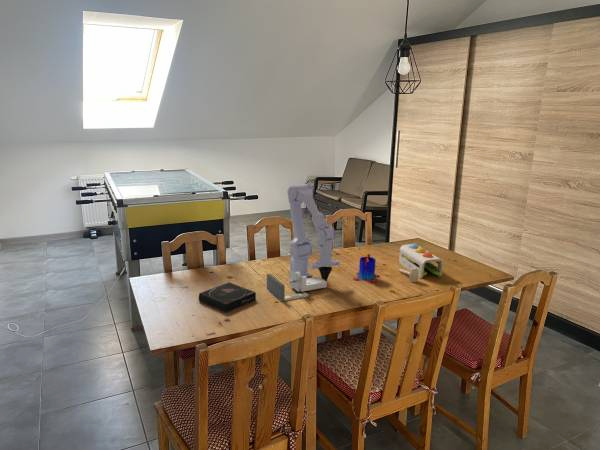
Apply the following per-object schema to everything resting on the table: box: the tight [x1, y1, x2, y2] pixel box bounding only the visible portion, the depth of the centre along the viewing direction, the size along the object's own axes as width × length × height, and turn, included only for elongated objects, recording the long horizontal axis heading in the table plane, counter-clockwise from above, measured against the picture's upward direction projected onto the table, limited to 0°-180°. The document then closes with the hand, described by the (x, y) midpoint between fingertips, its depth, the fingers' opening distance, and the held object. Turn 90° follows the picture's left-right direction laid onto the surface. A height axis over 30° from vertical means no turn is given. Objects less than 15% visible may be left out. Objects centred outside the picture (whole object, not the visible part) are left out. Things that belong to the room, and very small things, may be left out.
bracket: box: [296, 272, 328, 293], centre depth 206 cm, size 13×7×8 cm, turn 118°
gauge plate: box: [288, 269, 304, 294], centre depth 201 cm, size 12×3×7 cm, turn 28°
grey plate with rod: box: [266, 273, 309, 302], centre depth 201 cm, size 15×13×7 cm
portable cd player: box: [198, 282, 257, 314], centre depth 192 cm, size 16×17×4 cm
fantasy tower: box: [352, 253, 381, 284], centre depth 220 cm, size 12×12×12 cm
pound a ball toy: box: [398, 243, 444, 283], centre depth 230 cm, size 28×18×12 cm, turn 14°
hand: (324, 281), depth 210 cm, fingers closed
